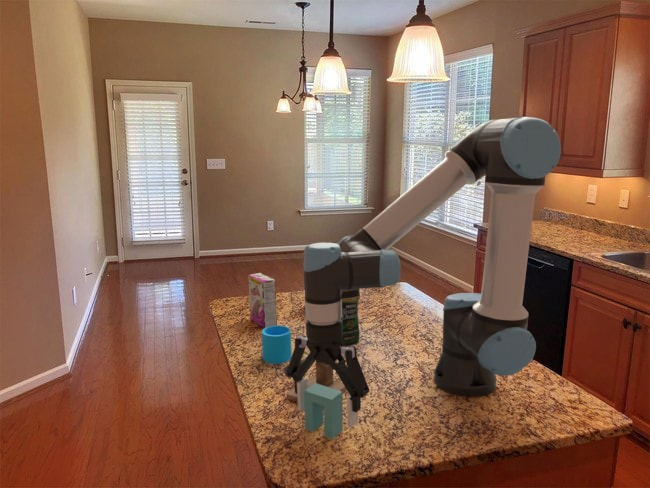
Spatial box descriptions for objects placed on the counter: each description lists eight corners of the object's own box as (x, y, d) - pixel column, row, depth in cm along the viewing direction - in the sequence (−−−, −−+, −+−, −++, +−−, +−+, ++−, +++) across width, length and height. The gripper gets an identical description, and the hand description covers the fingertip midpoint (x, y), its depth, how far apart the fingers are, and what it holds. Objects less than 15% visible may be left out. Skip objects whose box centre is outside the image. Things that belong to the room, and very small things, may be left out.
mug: (293, 362, 140) (292, 335, 138) (263, 365, 139) (262, 337, 137) (288, 345, 152) (287, 320, 150) (261, 347, 150) (260, 322, 149)
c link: (342, 430, 107) (342, 391, 105) (332, 439, 104) (331, 399, 102) (315, 420, 111) (315, 383, 109) (305, 429, 108) (304, 390, 106)
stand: (348, 388, 125) (347, 337, 122) (307, 420, 111) (306, 363, 108) (315, 378, 130) (314, 329, 128) (272, 407, 117) (270, 353, 114)
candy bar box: (249, 320, 173) (247, 274, 170) (262, 317, 176) (260, 272, 172) (264, 330, 164) (262, 281, 161) (277, 326, 167) (276, 279, 163)
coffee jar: (334, 348, 149) (334, 288, 145) (324, 339, 156) (323, 281, 152) (363, 343, 153) (364, 284, 149) (352, 334, 160) (352, 277, 156)
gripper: (385, 323, 98) (386, 423, 103) (288, 304, 112) (292, 394, 116) (366, 336, 92) (368, 442, 97) (266, 314, 106) (271, 408, 110)
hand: (327, 416), depth 106 cm, fingers open, 12 cm apart
